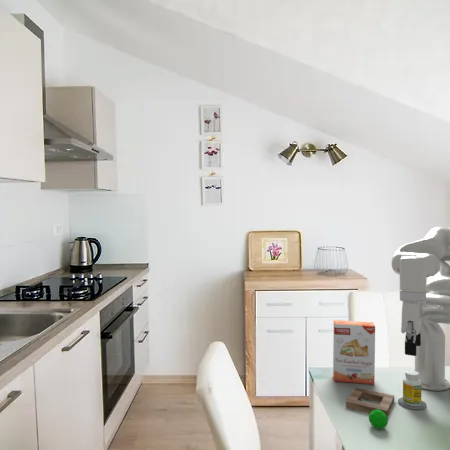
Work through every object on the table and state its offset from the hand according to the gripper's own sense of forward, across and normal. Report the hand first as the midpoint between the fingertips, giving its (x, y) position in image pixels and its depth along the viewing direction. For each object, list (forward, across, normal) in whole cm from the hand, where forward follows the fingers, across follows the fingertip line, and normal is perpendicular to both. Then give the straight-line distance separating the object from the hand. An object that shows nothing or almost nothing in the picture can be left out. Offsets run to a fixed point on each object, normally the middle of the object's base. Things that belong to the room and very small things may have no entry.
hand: (412, 350), depth 130 cm
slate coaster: (+17, +1, 0) cm, 17 cm away
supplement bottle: (+17, +1, 0) cm, 17 cm away
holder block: (+17, +8, -11) cm, 22 cm away
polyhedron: (+17, +21, -6) cm, 28 cm away
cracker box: (+17, -8, -21) cm, 28 cm away
